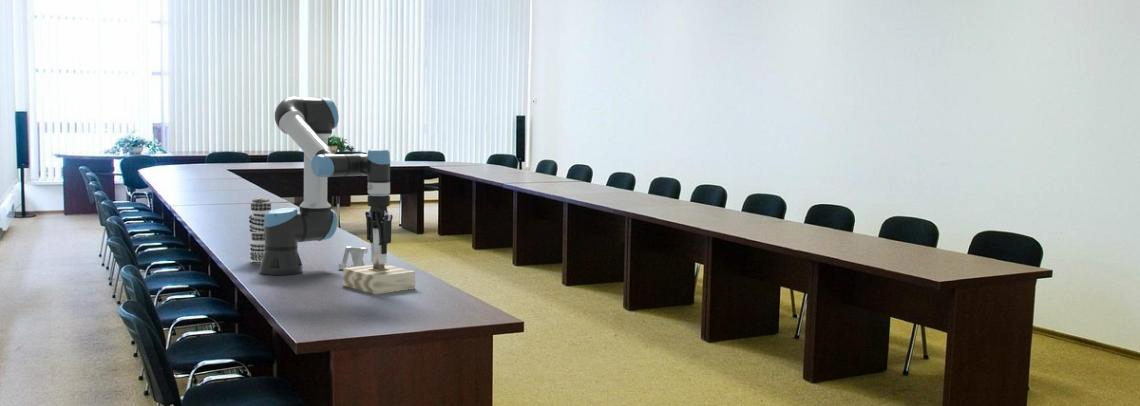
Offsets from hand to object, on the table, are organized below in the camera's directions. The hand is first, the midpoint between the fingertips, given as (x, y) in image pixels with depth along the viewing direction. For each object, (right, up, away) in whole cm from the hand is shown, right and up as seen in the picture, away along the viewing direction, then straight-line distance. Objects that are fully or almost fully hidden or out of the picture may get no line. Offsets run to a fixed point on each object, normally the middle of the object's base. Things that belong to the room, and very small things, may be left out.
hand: (378, 262), depth 327 cm
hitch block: (0, -9, +1) cm, 9 cm away
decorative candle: (-56, -3, +48) cm, 74 cm away
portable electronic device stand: (-16, -5, +35) cm, 39 cm away
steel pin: (0, -2, 0) cm, 2 cm away
